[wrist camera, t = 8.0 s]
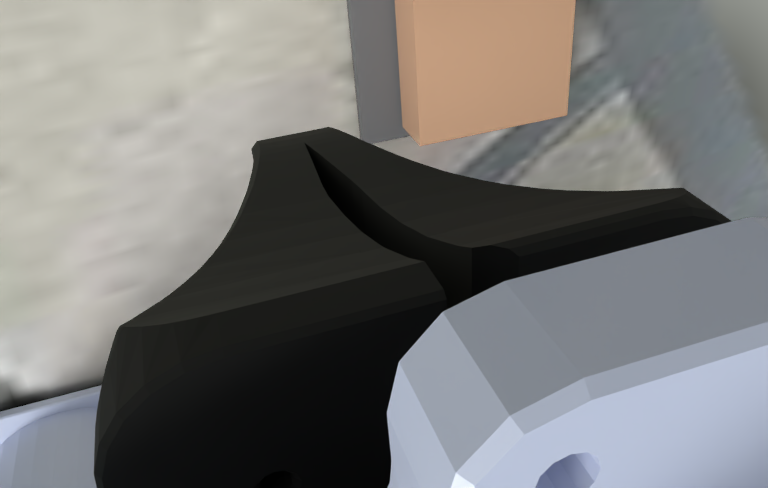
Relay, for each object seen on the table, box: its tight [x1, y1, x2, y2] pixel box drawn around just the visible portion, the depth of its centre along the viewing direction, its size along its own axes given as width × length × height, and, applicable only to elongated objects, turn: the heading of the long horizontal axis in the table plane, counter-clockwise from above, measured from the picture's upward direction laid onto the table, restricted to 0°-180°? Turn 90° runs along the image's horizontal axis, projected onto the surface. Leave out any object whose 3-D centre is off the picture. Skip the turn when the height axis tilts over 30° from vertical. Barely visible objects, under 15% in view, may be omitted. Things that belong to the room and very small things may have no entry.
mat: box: [347, 0, 410, 144], centre depth 22 cm, size 6×6×1 cm
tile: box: [395, 0, 576, 146], centre depth 21 cm, size 5×2×5 cm
